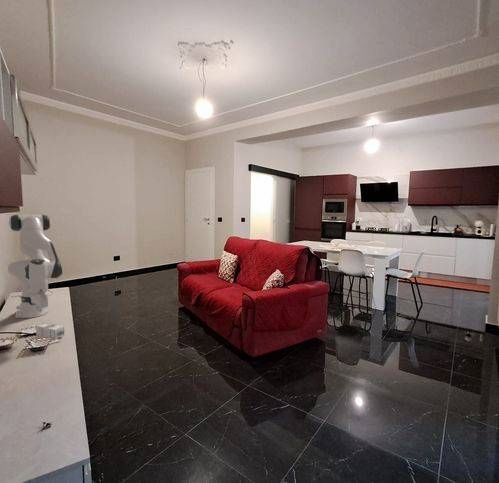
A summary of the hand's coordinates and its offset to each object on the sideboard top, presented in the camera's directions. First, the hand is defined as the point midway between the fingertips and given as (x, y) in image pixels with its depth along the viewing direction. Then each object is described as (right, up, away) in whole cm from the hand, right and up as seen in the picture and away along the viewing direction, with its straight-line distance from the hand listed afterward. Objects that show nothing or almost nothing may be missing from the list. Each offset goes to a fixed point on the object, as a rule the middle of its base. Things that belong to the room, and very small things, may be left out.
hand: (39, 311), depth 169 cm
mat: (+4, -16, -3) cm, 17 cm away
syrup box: (-2, -11, +4) cm, 12 cm away
